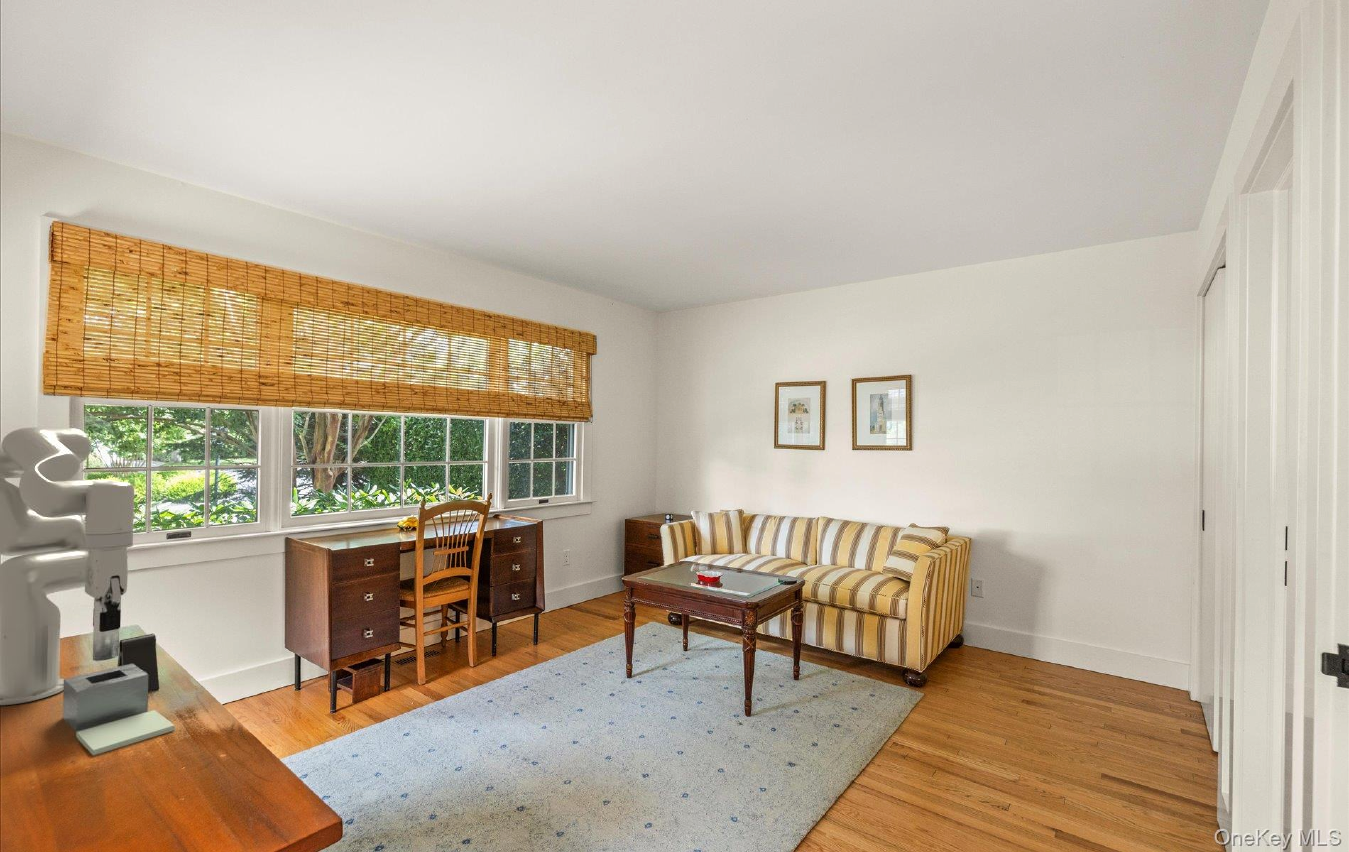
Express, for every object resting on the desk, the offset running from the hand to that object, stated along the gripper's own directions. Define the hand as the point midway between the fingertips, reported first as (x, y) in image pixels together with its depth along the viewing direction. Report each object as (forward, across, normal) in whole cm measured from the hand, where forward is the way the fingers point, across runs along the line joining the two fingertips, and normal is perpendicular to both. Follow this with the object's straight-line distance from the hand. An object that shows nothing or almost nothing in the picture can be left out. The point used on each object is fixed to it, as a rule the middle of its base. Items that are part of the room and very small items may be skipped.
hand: (106, 627), depth 129 cm
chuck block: (+18, +1, 0) cm, 18 cm away
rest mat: (+18, +15, 0) cm, 23 cm away
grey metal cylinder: (+6, 0, 0) cm, 6 cm away
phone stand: (+19, -11, +8) cm, 23 cm away
